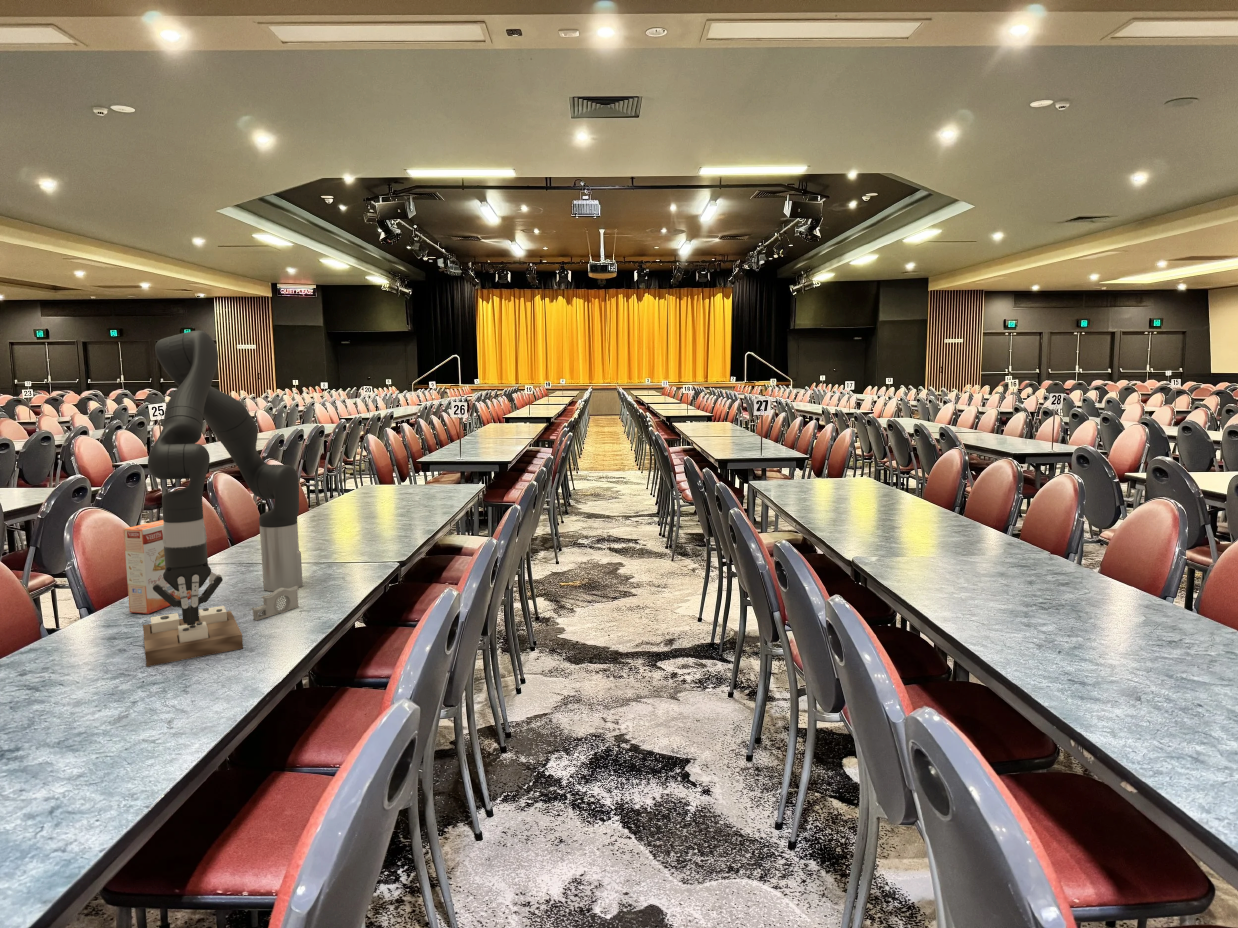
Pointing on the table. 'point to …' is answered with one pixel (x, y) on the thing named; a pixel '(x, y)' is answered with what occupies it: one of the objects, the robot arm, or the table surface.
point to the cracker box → (146, 567)
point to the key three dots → (192, 632)
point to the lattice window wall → (271, 603)
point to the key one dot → (165, 623)
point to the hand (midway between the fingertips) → (191, 624)
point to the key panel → (191, 642)
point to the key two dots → (213, 615)
